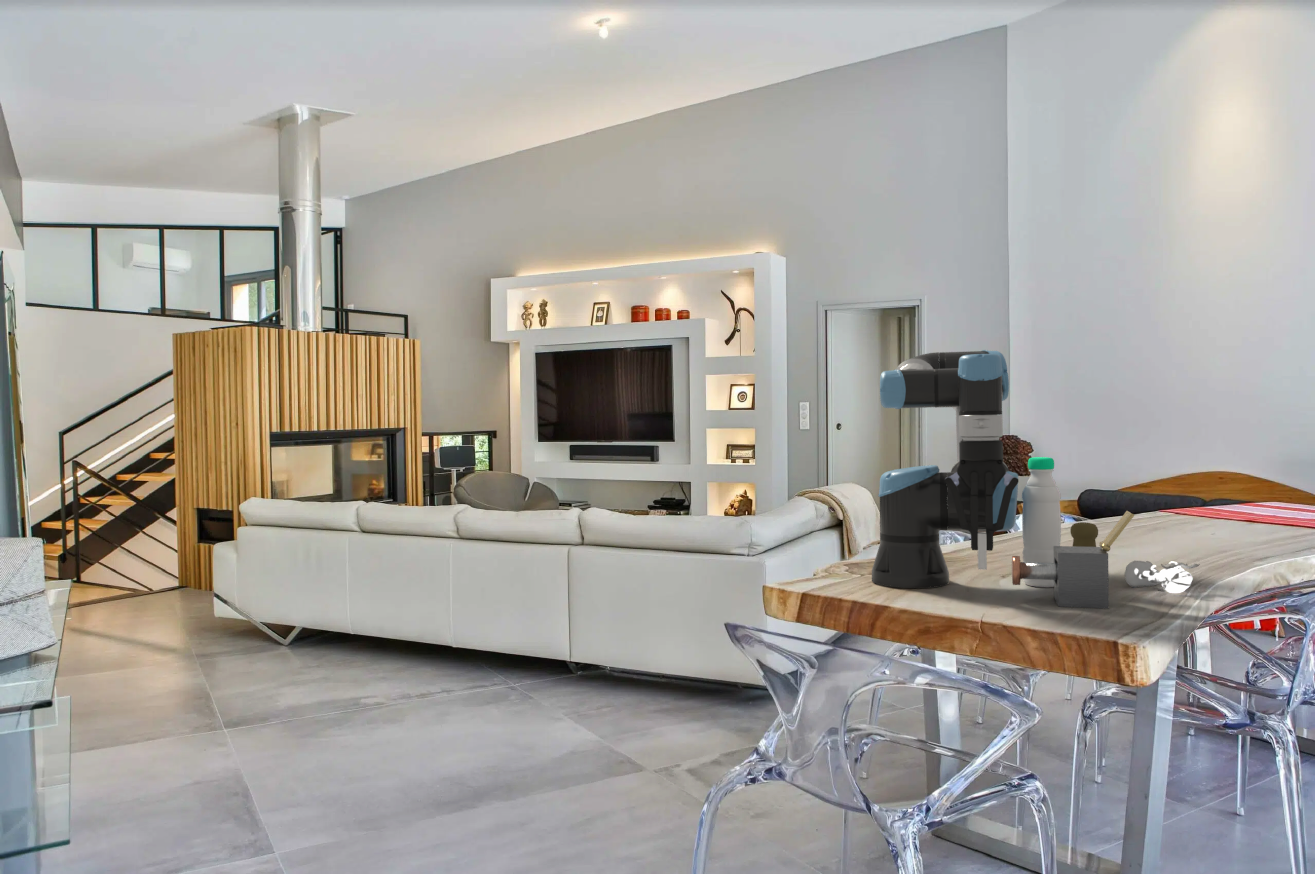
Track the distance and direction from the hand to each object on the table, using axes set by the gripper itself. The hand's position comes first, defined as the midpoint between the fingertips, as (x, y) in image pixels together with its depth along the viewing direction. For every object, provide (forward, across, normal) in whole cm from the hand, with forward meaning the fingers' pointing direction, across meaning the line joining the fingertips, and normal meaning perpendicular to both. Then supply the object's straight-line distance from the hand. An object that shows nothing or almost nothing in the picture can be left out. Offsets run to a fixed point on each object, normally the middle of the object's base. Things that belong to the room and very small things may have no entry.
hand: (982, 568), depth 174 cm
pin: (+3, +12, 0) cm, 12 cm away
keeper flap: (-7, +23, 0) cm, 24 cm away
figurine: (+6, +32, +16) cm, 36 cm away
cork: (+6, +20, +28) cm, 35 cm away
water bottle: (+6, +12, +17) cm, 22 cm away
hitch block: (+6, +16, 0) cm, 17 cm away
